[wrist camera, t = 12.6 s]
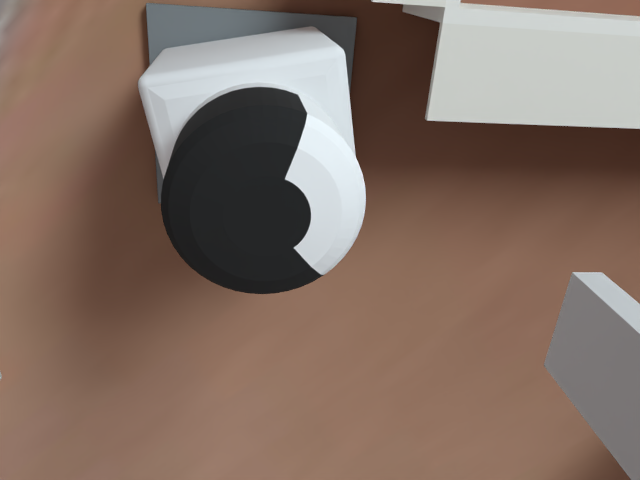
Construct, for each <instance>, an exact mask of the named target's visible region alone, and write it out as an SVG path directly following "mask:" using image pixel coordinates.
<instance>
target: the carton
mask: <svg viewBox="0 0 640 480" xmlns="http://www.w3.org/2000/svg"><path fill="white" fill-rule="evenodd" d="M460 1H461V0H371V2H381V3H395V4H403V10H402V12H405V13H409V14H412V15H416V16H419V17H423V18H426V19H430V20H433V21H437V22H440V27H439V33H438V39H437V46H436V52H435V58H434V65H433V71H432V77H431V84H430V90H429V96H428V103H427V109H426V115H425V119H426V120H427V121H450V122H476V123H502V124H528V125H554V126H580V127H606V128H632V129H640V16H628V15H615V14H601V13H588V12H575V11H561V10H548V9H534V8H521V7H507V6H494V5H481V4H467V3H460Z"/></svg>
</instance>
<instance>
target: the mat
mask: <svg viewBox="0 0 640 480" xmlns="http://www.w3.org/2000/svg"><path fill="white" fill-rule="evenodd" d="M146 12H147V28H148V44H149V60H150V65H151V64H152V63H153V61H154V60H155V59H156V58H157V56H158V55H159V54H160V53H161V52H162V50H164V49H166V48H171V47H178V46H184V45H191V44H198V43H204V42H211V41H217V40H224V39H230V38H237V37H244V36H250V35H257V34H263V33H270V32H276V31H283V30H290V29H296V28H303V27H309V26H312V27H315V28H317V29H318V30H319V31H321V32H322V33H323V34H324V35H326V36H327V37H328V38H330V39H331V40H332V41H333V42H335V43H336V44H337V45H339V46H340V47H341V48H342V49H343V50H344V52H345V56H346V66H347V76H348V85H349V95H350V86H351V75H352V65H353V54H354V44H355V33H356V23H357V18H356V17H346V16H331V15H317V14H302V13H287V12H273V11H258V10H243V9H228V8H214V7H199V6H184V5H170V4H155V3H146ZM155 156H156V172H157V188H158V203H161V191H162V184H163V180H164V179H163V175H162V172H161V168H160V164H159V161H158V157H157V154H156V150H155Z"/></svg>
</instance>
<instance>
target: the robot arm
mask: <svg viewBox="0 0 640 480" xmlns="http://www.w3.org/2000/svg"><path fill="white" fill-rule="evenodd" d="M544 366H545V368H546V369H547V370H548V372H549V373H550V374H551V376H552V377H553V378H554V379H555V381H556V382H557V383H558V385H559V386H560V387H561V389H562V390H563V391H564V393H565V394H566V395H567V397H568V398H569V399H570V400H571V402H572V403H573V404H574V406H575V407H576V408H577V410H578V411H579V412H580V414H581V415H582V416H583V417H584V419H585V420H586V421H587V423H588V424H589V425H590V427H591V428H592V429H593V431H594V432H595V433H596V435H597V436H598V437H599V438H600V440H601V441H602V442H603V444H604V445H605V446H606V448H607V449H608V450H609V452H610V453H611V454H612V455H613V457H614V458H615V459H616V461H617V462H618V463H619V465H620V466H621V467H622V469H623V470H624V471H625V473H626V474H627V475H628V476H629V478H630V479H631V480H640V304H639V303H638V302H637V301H635V300H634V299H633V298H632V297H631V296H629V295H628V294H627V293H626V292H625V291H623V290H622V289H621V288H620V287H619V286H617V285H616V284H615V283H614V282H613V281H611V280H610V279H609V278H608V277H607V276H605V275H604V274H603V273H602V272H572V275H571V278H570V281H569V285H568V288H567V291H566V294H565V298H564V301H563V304H562V307H561V311H560V314H559V317H558V321H557V324H556V327H555V330H554V334H553V337H552V340H551V343H550V347H549V350H548V353H547V357H546V360H545V363H544ZM1 378H2V377H1V373H0V379H1Z"/></svg>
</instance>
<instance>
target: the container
mask: <svg viewBox="0 0 640 480" xmlns="http://www.w3.org/2000/svg"><path fill="white" fill-rule="evenodd" d="M138 89H139V92H140V96H141V100H142V103H143V107H144V110H145V114H146V118H147V121H148V125H149V128H150V132H151V136H152V139H153V143H154V146H155V150H156V154H157V157H158V161H159V164H160V168H161V172H162V175H163V179H164V180H163V184H162V191H161V211H162V217H163V222H164V225H165V228H166V231H167V234H168V236H169V238H170V240H171V242H172V244H173V246H174V248H175V249H176V250H177V252H178V253H179V255H180V256H181V257H182V258H183V260H184V261H185V262H186V263H187V264H188V265H189V266H190V267H191V268H192V269H194V270H195V271H196V272H197V273H199V274H200V275H201V276H203V277H205V278H206V279H208V280H210V281H211V282H213V283H216V284H218V285H220V286H222V287H225V288H228V289H232V290H235V291H239V292H245V293H254V294H270V293H279V292H284V291H289V290H292V289H296V288H299V287H302V286H304V285H306V284H309V283H311V282H313V281H315V280H316V279H318V278H320V277H321V276H323V275H324V274H326V273H327V272H328V271H330V270H331V269H332V268H333V267H335V266H336V265H337V264H338V263H339V261H340V260H341V259H342V258H343V257H344V256H345V255H346V253H347V252H348V251H349V249H350V248H351V246H352V245H353V243H354V241H355V239H356V238H357V236H358V233H359V231H360V228H361V225H362V222H363V218H364V213H365V204H366V192H365V183H364V179H363V174H362V171H361V169H360V166H359V163H358V161H357V159H356V155H355V145H354V135H353V125H352V115H351V105H350V95H349V85H348V76H347V66H346V56H345V52H344V50H343V49H342V48H341V47H340V46H339V45H337V44H336V43H335V42H333V41H332V40H331V39H330V38H328V37H327V36H326V35H324V34H323V33H322V32H321V31H319V30H318V29H317V28H315V27H312V26H309V27H303V28H296V29H290V30H283V31H276V32H270V33H263V34H257V35H250V36H244V37H237V38H230V39H224V40H217V41H211V42H204V43H198V44H191V45H184V46H178V47H171V48H166V49H164V50H162V52H161V53H160V54H159V55H158V56H157V58H156V59H155V60H154V61H153V63H152V64H151V65H150V66H149V67H148V69H147V70H146V71H145V72H144V74H143V75H142V76H141V77H140V79H139V81H138Z"/></svg>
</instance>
